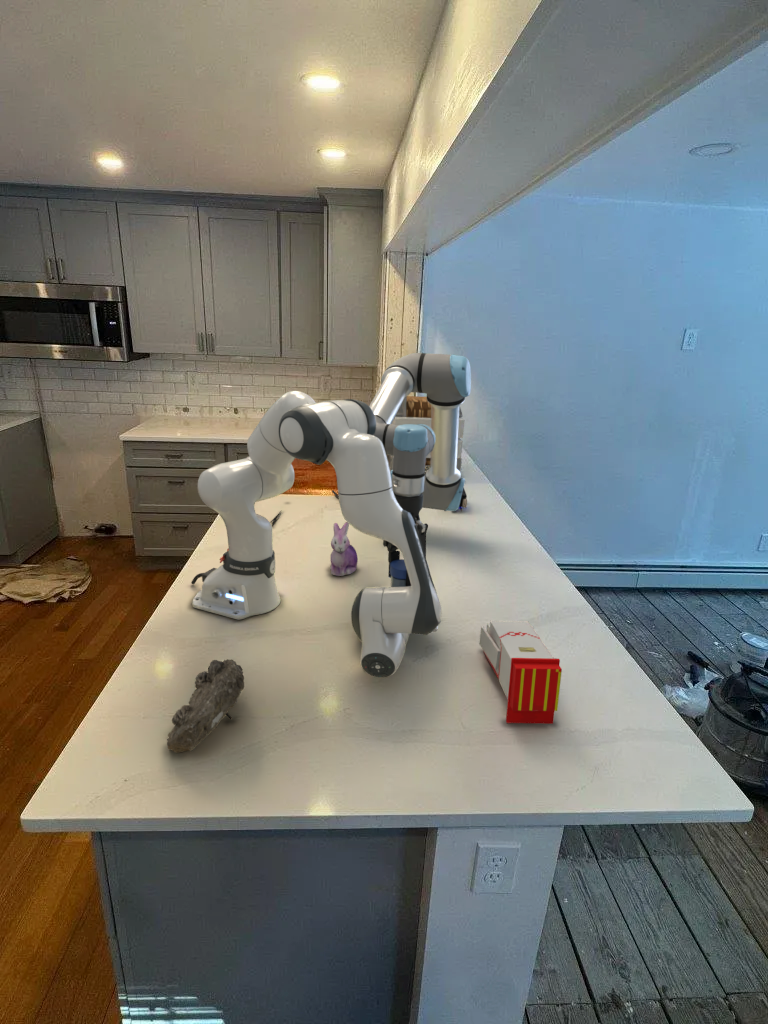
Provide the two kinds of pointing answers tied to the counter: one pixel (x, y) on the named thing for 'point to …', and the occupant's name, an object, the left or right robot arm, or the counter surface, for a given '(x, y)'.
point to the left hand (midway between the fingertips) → (401, 598)
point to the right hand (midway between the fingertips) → (402, 581)
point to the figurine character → (463, 500)
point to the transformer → (423, 422)
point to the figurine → (342, 552)
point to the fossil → (206, 705)
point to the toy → (523, 670)
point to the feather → (275, 519)
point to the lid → (398, 569)
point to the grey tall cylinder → (398, 582)
